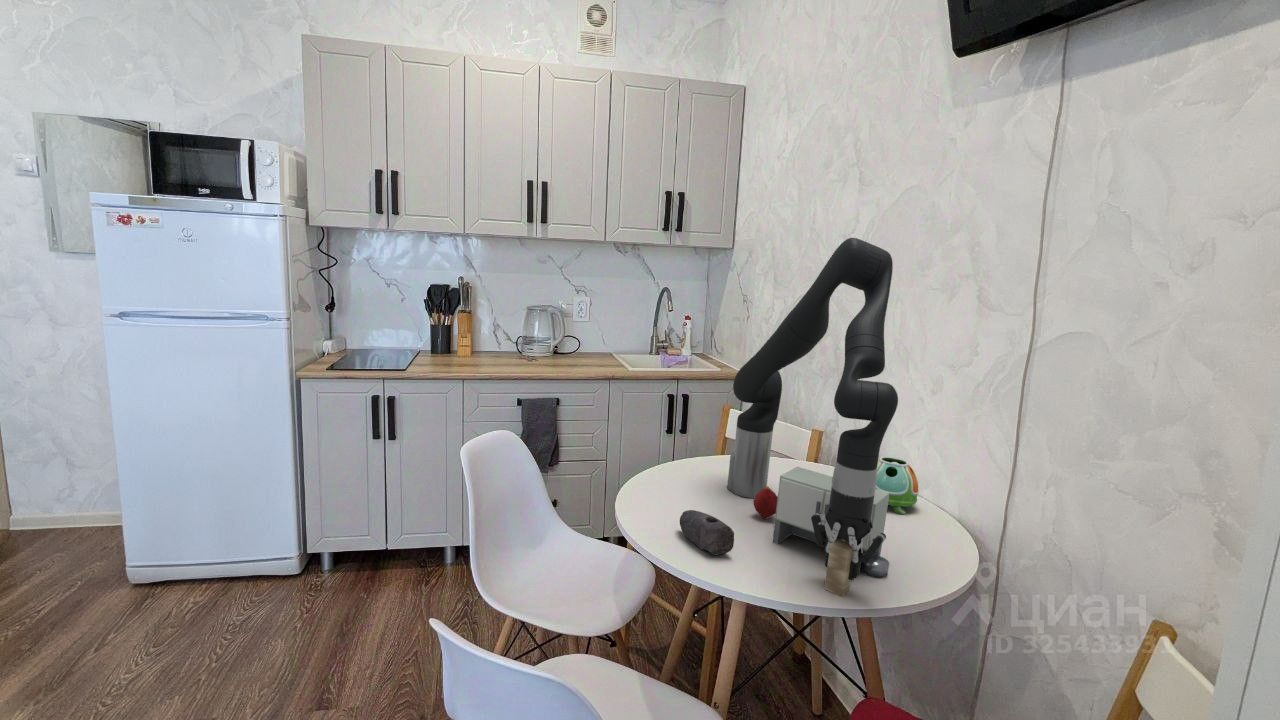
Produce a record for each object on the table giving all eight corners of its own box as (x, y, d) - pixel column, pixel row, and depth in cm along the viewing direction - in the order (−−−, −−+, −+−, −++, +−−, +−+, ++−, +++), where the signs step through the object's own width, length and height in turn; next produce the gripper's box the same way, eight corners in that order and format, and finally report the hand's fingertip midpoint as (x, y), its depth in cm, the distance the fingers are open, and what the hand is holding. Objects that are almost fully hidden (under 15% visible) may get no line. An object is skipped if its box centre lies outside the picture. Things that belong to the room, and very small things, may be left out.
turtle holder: (845, 487, 169) (850, 445, 167) (916, 502, 162) (923, 459, 160) (838, 502, 158) (844, 457, 156) (914, 519, 151) (922, 473, 149)
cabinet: (770, 543, 132) (778, 476, 130) (789, 529, 140) (797, 466, 137) (864, 578, 120) (874, 505, 118) (879, 561, 128) (889, 492, 125)
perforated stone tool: (670, 532, 134) (673, 502, 133) (690, 528, 137) (692, 498, 136) (714, 563, 122) (718, 530, 121) (735, 558, 125) (738, 526, 123)
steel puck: (857, 571, 123) (858, 560, 122) (866, 562, 127) (868, 551, 126) (882, 580, 120) (884, 569, 119) (891, 572, 123) (892, 560, 123)
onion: (778, 516, 147) (782, 484, 145) (775, 525, 141) (779, 492, 140) (754, 511, 149) (757, 479, 147) (750, 520, 143) (753, 487, 142)
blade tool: (824, 589, 115) (830, 544, 113) (852, 561, 127) (858, 520, 125) (842, 596, 113) (849, 550, 111) (869, 567, 125) (876, 526, 123)
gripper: (899, 493, 111) (885, 581, 114) (824, 472, 120) (813, 554, 123) (886, 505, 106) (872, 597, 109) (808, 481, 114) (797, 567, 117)
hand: (841, 573), depth 116 cm, fingers closed on blade tool, 3 cm apart
